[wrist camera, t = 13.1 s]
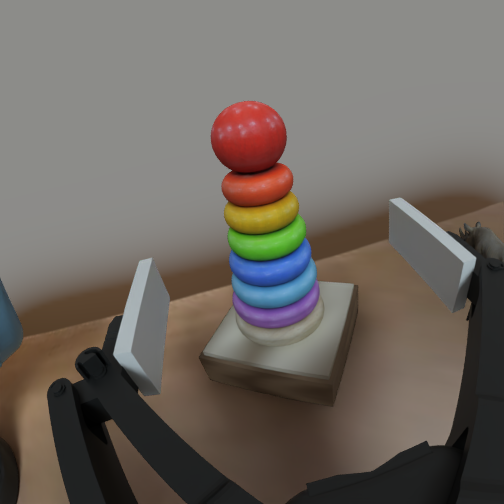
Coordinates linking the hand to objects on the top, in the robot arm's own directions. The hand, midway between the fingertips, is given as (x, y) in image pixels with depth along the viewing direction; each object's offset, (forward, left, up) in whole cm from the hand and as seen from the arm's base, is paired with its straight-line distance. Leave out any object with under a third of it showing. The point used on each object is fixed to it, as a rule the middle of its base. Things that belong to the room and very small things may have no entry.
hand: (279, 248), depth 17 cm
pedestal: (-4, +6, -16) cm, 17 cm away
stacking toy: (-4, +6, -12) cm, 14 cm away
